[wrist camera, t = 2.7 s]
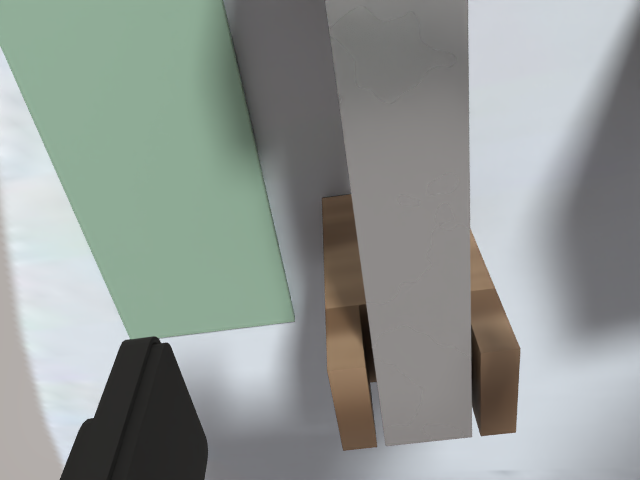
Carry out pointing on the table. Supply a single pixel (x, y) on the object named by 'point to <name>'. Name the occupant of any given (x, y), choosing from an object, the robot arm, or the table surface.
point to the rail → (411, 202)
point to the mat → (154, 156)
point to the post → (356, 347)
